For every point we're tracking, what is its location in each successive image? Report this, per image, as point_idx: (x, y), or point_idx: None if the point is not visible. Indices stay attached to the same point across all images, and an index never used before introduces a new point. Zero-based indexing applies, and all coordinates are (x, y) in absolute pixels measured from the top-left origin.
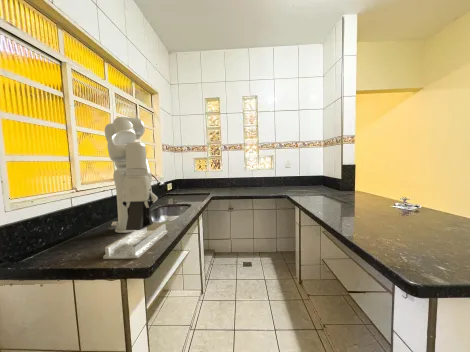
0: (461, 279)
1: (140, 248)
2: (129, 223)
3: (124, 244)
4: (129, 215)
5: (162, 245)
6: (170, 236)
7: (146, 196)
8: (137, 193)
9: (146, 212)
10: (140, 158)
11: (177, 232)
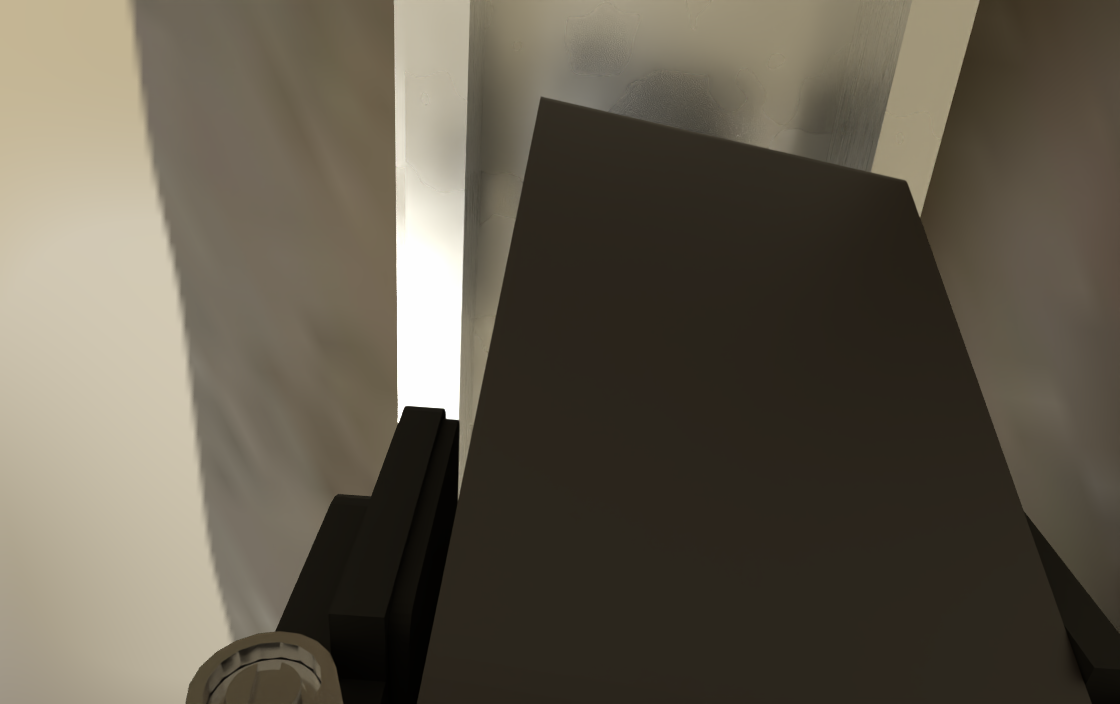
0: None
1: None
2: (858, 252)
3: (846, 97)
4: (952, 432)
5: (235, 121)
6: (284, 478)
7: None
8: None
9: (371, 499)
10: None
11: (251, 613)
